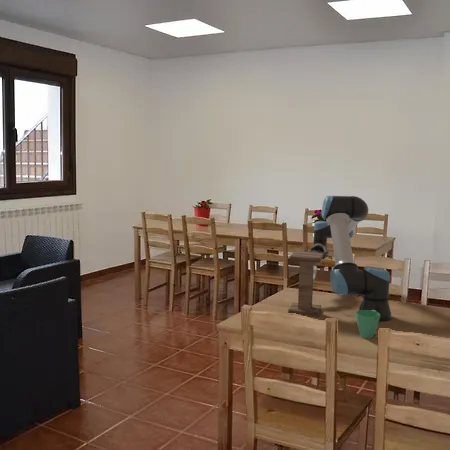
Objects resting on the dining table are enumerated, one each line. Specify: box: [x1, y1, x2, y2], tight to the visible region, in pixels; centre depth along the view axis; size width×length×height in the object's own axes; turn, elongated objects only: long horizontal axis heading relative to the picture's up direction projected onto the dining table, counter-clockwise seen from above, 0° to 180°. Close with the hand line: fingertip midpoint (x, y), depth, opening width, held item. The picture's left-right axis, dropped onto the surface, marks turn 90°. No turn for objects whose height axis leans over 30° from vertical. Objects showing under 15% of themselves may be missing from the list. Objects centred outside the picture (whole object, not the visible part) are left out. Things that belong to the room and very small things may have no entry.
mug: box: [355, 309, 380, 339], centre depth 232 cm, size 15×10×10 cm
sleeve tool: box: [312, 251, 318, 284], centre depth 286 cm, size 22×5×3 cm
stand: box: [287, 250, 324, 318], centre depth 264 cm, size 16×14×28 cm
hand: (312, 258), depth 287 cm, fingers closed on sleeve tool, 3 cm apart
